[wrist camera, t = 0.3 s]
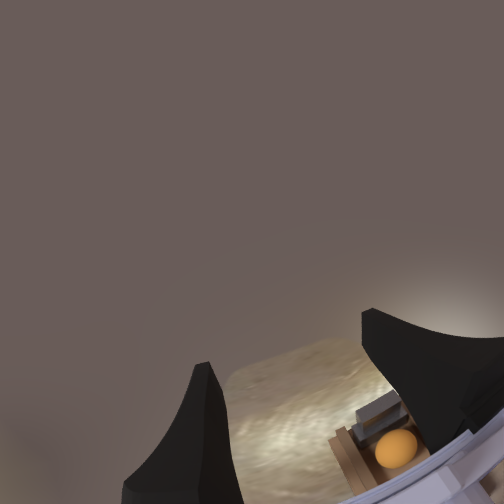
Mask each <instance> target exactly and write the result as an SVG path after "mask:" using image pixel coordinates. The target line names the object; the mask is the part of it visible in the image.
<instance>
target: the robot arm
mask: <svg viewBox="0 0 504 504" xmlns="http://www.w3.org/2000/svg"><path fill="white" fill-rule="evenodd" d="M362 346H363V348H364V349H365V351H366V353H367V354H368V356H369V358H370V359H371V361H372V362H373V363H374V365H375V366H376V367H377V368H378V370H379V371H380V372H381V373H382V374H383V376H384V377H385V378H386V379H387V381H388V382H389V383H390V384H391V385H392V387H393V388H394V389H395V390H396V392H397V393H398V394H399V396H400V397H401V399H402V401H403V402H404V404H405V405H406V407H407V409H408V410H409V412H410V414H411V416H412V418H413V419H414V421H415V423H416V425H417V427H418V429H419V431H420V433H421V435H422V437H423V439H424V442H425V444H426V446H427V449H428V451H429V454H430V457H428V458H427V459H425V460H424V461H422V462H421V463H419V464H417V465H416V466H414V467H412V468H411V469H409V470H407V471H405V472H404V473H402V474H400V475H398V476H396V477H395V478H393V479H391V480H389V481H387V482H385V483H383V484H381V485H379V486H377V487H375V488H373V489H371V490H368V491H366V492H364V493H362V494H360V495H357V496H355V497H353V498H350V499H348V500H345V501H343V502H340V503H338V504H495V503H494V502H493V501H492V499H491V498H490V497H489V495H488V494H487V492H486V491H485V490H484V488H483V487H482V486H481V484H480V483H479V481H480V480H482V479H483V478H484V477H485V476H486V475H487V474H488V473H489V472H490V471H492V470H493V469H494V468H495V467H496V466H497V465H498V464H499V463H500V462H501V461H502V460H503V459H504V337H498V338H470V337H460V336H453V335H447V334H443V333H439V332H435V331H431V330H428V329H425V328H422V327H418V326H416V325H413V324H410V323H408V322H405V321H403V320H400V319H398V318H396V317H393V316H391V315H389V314H386V313H384V312H381V311H379V310H376V309H374V308H371V309H369V310H366V311H364V312H362ZM121 504H244V501H243V498H242V495H241V491H240V488H239V484H238V480H237V477H236V473H235V469H234V464H233V460H232V455H231V448H230V439H229V429H228V419H227V409H226V405H225V400H224V396H223V391H222V389H221V387H220V385H219V382H218V380H217V378H216V376H215V374H214V371H213V369H212V367H211V365H210V363H209V362H204V363H200V364H197V365H195V367H194V370H193V373H192V376H191V380H190V383H189V385H188V388H187V391H186V394H185V396H184V399H183V401H182V404H181V406H180V408H179V410H178V412H177V415H176V417H175V419H174V420H173V422H172V424H171V426H170V428H169V430H168V431H167V433H166V434H165V436H164V437H163V439H162V440H161V442H160V444H159V445H158V446H157V448H156V449H155V450H154V452H153V453H152V454H151V455H150V456H149V457H148V459H147V460H146V461H145V462H144V463H143V464H142V465H141V466H140V467H139V468H138V469H137V470H136V471H135V472H134V473H133V474H132V475H131V476H130V477H129V478H127V479H126V480H125V481H124V484H123V489H122V503H121Z"/></svg>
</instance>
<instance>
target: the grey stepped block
mask: <svg viewBox="0 0 504 504" xmlns="http://www.w3.org/2000/svg"><path fill="white" fill-rule="evenodd" d="M401 402H402V400H401V398H400V397H399V396H398V394H397V393H396V392H395V391H394V389H393V390H391V391H390V392H388V393H387V394H385V395H383V396H382V397H380V398H378V399H376V400H375V401H373V402H371V403H369V404H368V405H366V406H364V407H362V408H360V409H358V410H356V411H355V412H356V420H357V424H355V425H353V426H351V428H352V434H353V437H354V439H355V441H356V442H357V444H358V446H359V448H360V449H361V450H362V449H364V448H365V447H367V446H369V445H371V444H373V443H375V442H376V441H378V440H380V439H381V438H382V437H383V436H384V435H385V434H387V433H388V432H390V431H392V430H396V429H398V428H400V427H401V426H403V425H405V424H406V419H407V414H408V413H407V412H406V411H405V409H404V408H403V407H402V405H401Z"/></svg>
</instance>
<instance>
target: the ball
mask: <svg viewBox="0 0 504 504" xmlns="http://www.w3.org/2000/svg"><path fill="white" fill-rule="evenodd" d="M416 451H417V440H416V438H415V436H414V435H413V434H412V433H411V432H410V431H407V430H404V429H396V430H392V431H390V432H388V433H387V434H385V435H384V436H383V437H382V438H381V439H380V440H379V442H378V444H377V446H376V450H375V455H376V459H377V461H378V462H379V463H380V465H382V466H383V467H385V468H389V469H396V468H400V467H402V466H404V465H406V464H407V463H409V462H410V461H411V460H412V459H413V457H414V456H415V454H416Z"/></svg>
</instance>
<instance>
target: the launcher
mask: <svg viewBox="0 0 504 504" xmlns="http://www.w3.org/2000/svg"><path fill="white" fill-rule="evenodd" d="M399 397H400V396H399ZM400 398H401V397H400ZM401 400H402V399H401ZM401 405H402V407H403V408H404V409H405V411H406V412H407V413H408V414H407V419H406V424H405V425H403V426H401V427H400V428H398V429H404V430H407V431H410V432H411V433H412V434H413V435H414V436H415V438H416V440H417V451H416V454H415V456H414V457H413V459H412V460H411V461H410V462H409V463H407V464H406V465H404V466H402V467H400V468H396V469H389V468H385V467H383V466H382V465H380V463H379V462H378V461H377V459H376V455H375V450H376V446H377V444H378V442H379V440H378V441H376V442H375V443H373V444H371V445H369V446H367V447H365V448H364V449H362V450H361V449H360V448H359V446H358V444H357V442H356V441H355V439H354V437H353V434H352V429H350V430H348V431H347V430H346V428H345V426H344V427H342V428H340V429H338V430H336V435H337V436H336V437H334V438H332V439H330V440H328V441H329V444H330V447H331V449H332V451H333V453H334V455H335V457H336V459H337V461H338V463H339V465H340V467H341V469H342V471H343V473H344V475H345V477H346V479H347V480H348V482H349V484H350V486H351V488H352V490H353V492H354V494H355V496H357V495H360V494H362V493H364V492H366V491H368V490H371V489H373V488H375V487H377V486H379V485H381V484H383V483H385V482H387V481H389V480H391V479H393V478H395V477H396V476H398V475H400V474H402V473H404V472H405V471H407V470H409V469H411V468H412V467H414V466H416V465H417V464H419V463H421V462H422V461H424V460H425V459H427V458H428V457H430V454H429V451H428V449H427V446H426V444H425V442H424V439H423V437H422V435H421V433H420V431H419V429H418V427H417V425H416V423H415V421H414V419H413V418H412V416H411V414H410V412H409V410H408V409H407V407H406V405H405V404H404V402H403V401H402V402H401Z"/></svg>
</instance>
